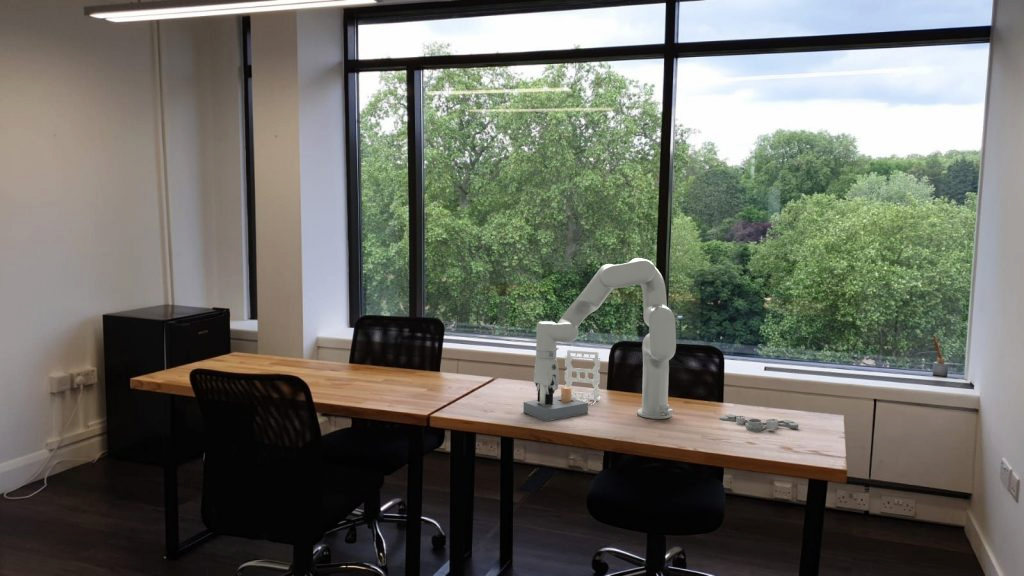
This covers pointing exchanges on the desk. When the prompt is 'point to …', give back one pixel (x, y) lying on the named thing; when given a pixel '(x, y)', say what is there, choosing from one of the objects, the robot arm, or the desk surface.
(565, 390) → the peg terracotta
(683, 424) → the desk surface
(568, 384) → the white plastic rack
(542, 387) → the peg cream
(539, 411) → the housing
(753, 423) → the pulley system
